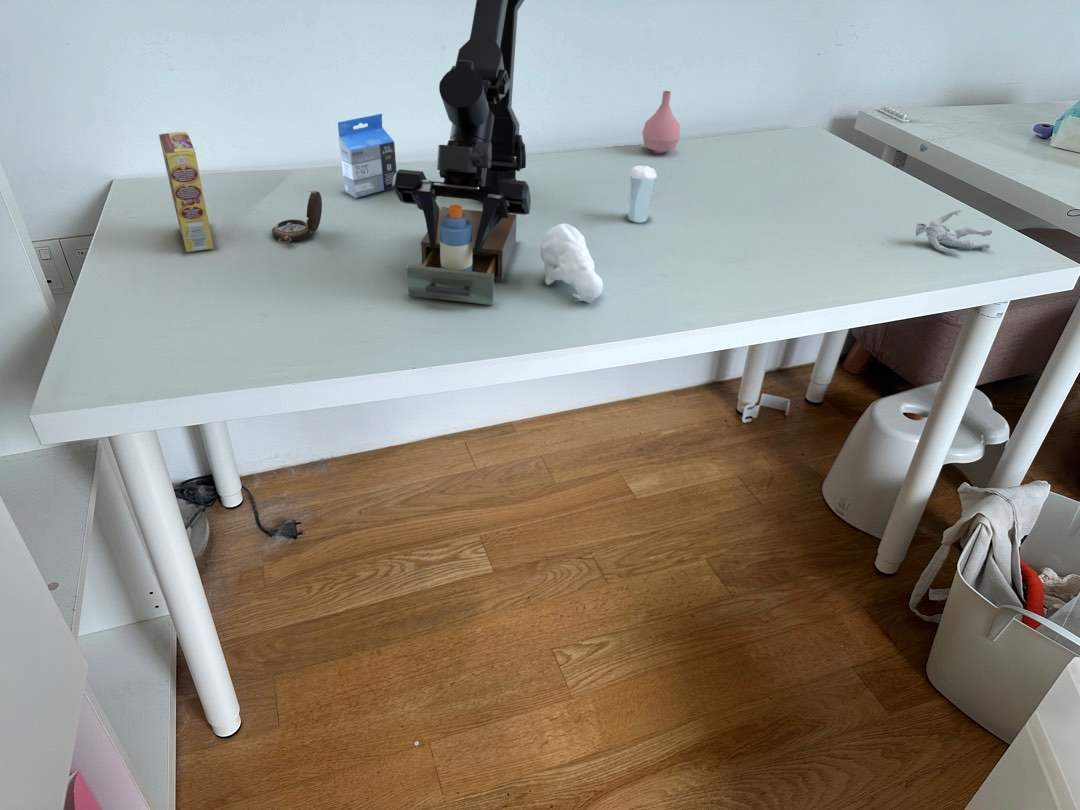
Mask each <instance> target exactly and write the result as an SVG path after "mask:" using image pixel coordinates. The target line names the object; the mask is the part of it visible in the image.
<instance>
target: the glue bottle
mask: <svg viewBox="0 0 1080 810" xmlns="http://www.w3.org/2000/svg"><path fill="white" fill-rule="evenodd" d="M448 208H449V213H448V214H447V215H446V216H445V220H444V221H442V222H441V223H440V262H441V268H443V269H453V270H462V271H472V263H473V261H472V224H471V222H469V221H468V220H466V216H465V215H464V214H463V213H462V209H463V206H462V205H460V204H450V205H449V206H448Z"/></svg>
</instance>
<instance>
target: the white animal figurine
mask: <svg viewBox="0 0 1080 810" xmlns="http://www.w3.org/2000/svg"><path fill="white" fill-rule="evenodd" d="M539 251H540V259H541V260H542V262H543V263H544V272H545V278H544V282H545V285H547V286H550V285H552V284H553V283H554V282H555V281H563V282H564V283H565V284H567V285H568V284H569V285H571V286H572V287H573V288H574V289H575V290H576V291H577V293H573V294H572V296H573V297H575V298H576V302H577V301H578V302H581V301H583V302H586V303H587V304H591V303H593V301H595V300H596V299H597V298H598V297H600V295H602V292H603V290H604V283H603V280H602V278H601V277H600V275H598V273H597V272H596V271H595V266H596V265H595V262H594V259H593V258H592V256H591V254H590V250H589V249H588V246H587V243H586V238H585V236H584V235H583V234H582V233H581V232H580V231H579V230H578V229H577V228H576V227H574V226H572V225H571V224H569V223H559V224H557V225H555V226H553V227H551V228H549V229H548V230H547V231H546V232H545V234H544V236H543V238H542V241H541V242H540V243H539Z"/></svg>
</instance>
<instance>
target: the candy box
mask: <svg viewBox="0 0 1080 810" xmlns="http://www.w3.org/2000/svg"><path fill="white" fill-rule="evenodd" d="M158 137H159V142H160V146H161V151H162V155H163V160H164V165H165V170H166V173H167V178H168V182H169V183H168V184H169V187H170V191H171V196H172V201H173V205H174V209H175V215H176V218H177V222H178V226H179V231H180V234H181V237H182V241H183V245H184V249H185V252H187V253H193V252H201V251H208V250H214V243H213V237H212V233H211V232H212V231H211V227H210V222H209V217H208V211H207V207H206V201H205V200H206V199H205V196H204V190H203V186H202V185H203V184H202V181H201V180H202V179H201V176H200V170H199V164H198V161H197V155H196V150H195V148H194V145H193V143H192V140H191V138H190V136H189V133H188V132H187V131H174V132H167V133H160V134H158Z"/></svg>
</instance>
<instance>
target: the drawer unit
mask: <svg viewBox="0 0 1080 810" xmlns="http://www.w3.org/2000/svg"><path fill="white" fill-rule="evenodd" d="M482 211H483V210H475V209H465V208H462V213H463V214H464V215H465V216H466V220H468V221H469V222H471V224H472V252H474V250H475V241H476V236H477V232H478V228H479V224H480V220H481V216H482ZM448 213H449V207H443V206H441V208H439V220H438V231H437V241H436V245H435V248H440V223H441V222H442V221H444V220H445V216H446V215H447V214H448ZM517 215H518V214H512V213H509V217H508V218H502V219H501V220H500V221H499V223H498V224H497V225H496V226H495V228H494V229H493V230H492V232H491V233H490V235H489V236H488V238H487V240H486V241H485V243H484V245H483V247H482V248H481V250H480V252H481V253H490V254H498V267H497V270H496V272H495V275H494V282H503V280H504V277H505V274H506V271H507V269H508V266H509V263H510V260H511V258H512V255H513V252H514V250H515V247H516V244H517ZM430 251H431V247H430V243H429V237H428V231H427V230H426V233H425V235H424V236H423V238H422V240H421V242H420V252H421V266H422V265H423V263H424V262H425V260H426V258H427V256H428V254H429V253H430Z"/></svg>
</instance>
